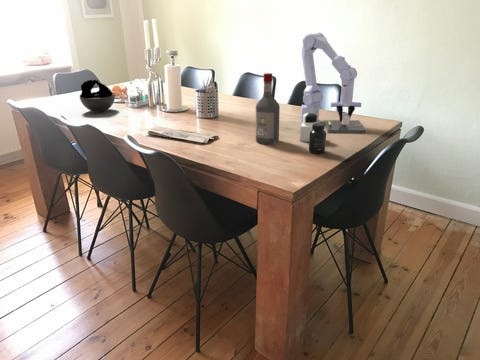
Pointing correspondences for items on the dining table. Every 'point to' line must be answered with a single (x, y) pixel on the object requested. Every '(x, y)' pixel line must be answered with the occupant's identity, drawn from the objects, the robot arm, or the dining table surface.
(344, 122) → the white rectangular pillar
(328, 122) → the base
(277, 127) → the liquor
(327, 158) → the dining table surface
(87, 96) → the coal bowl
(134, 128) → the dining table surface
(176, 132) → the newspaper
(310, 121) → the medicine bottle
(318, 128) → the supplement bottle
